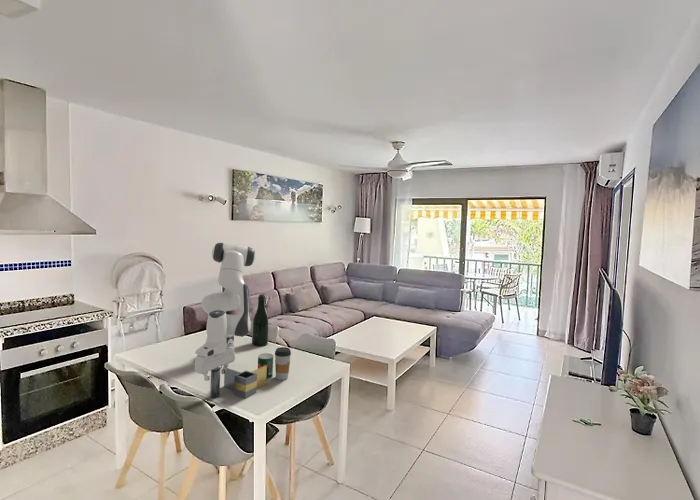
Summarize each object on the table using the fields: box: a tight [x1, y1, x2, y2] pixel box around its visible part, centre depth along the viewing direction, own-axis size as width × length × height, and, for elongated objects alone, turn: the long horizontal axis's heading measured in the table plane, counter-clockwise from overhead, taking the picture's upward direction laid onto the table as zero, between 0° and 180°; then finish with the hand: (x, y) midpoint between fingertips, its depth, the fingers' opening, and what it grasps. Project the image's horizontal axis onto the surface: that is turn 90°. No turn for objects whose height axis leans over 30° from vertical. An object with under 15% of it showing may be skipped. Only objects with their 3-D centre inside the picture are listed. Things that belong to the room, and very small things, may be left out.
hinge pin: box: [209, 366, 223, 399], centre depth 172 cm, size 5×5×14 cm
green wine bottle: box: [251, 293, 269, 347], centre depth 246 cm, size 10×10×33 cm
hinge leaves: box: [223, 366, 267, 399], centre depth 183 cm, size 17×17×9 cm
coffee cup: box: [274, 346, 292, 381], centre depth 196 cm, size 8×8×15 cm
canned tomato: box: [257, 352, 275, 380], centre depth 196 cm, size 8×8×11 cm
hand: (215, 376), depth 172 cm, fingers open, 8 cm apart
